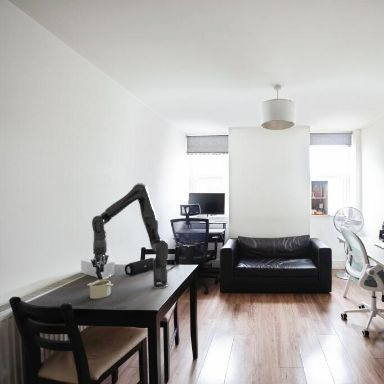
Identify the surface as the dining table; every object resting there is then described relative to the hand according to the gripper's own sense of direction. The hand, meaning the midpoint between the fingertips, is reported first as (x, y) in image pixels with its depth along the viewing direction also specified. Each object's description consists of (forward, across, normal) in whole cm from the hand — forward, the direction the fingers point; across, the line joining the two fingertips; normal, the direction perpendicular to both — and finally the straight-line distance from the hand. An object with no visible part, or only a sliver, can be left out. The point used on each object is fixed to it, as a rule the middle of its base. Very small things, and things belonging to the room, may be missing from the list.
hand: (100, 272), depth 171 cm
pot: (+15, +1, 0) cm, 15 cm away
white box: (+15, +45, +38) cm, 61 cm away
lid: (+5, +1, -1) cm, 5 cm away
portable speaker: (+15, +53, +3) cm, 55 cm away
